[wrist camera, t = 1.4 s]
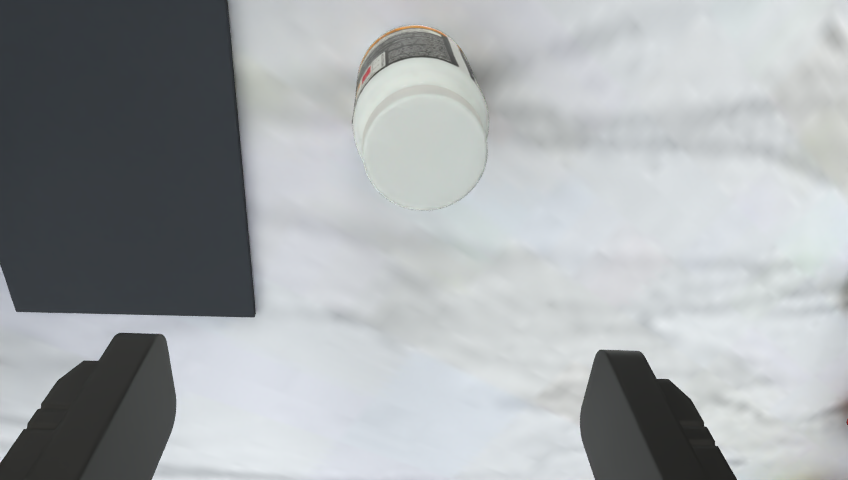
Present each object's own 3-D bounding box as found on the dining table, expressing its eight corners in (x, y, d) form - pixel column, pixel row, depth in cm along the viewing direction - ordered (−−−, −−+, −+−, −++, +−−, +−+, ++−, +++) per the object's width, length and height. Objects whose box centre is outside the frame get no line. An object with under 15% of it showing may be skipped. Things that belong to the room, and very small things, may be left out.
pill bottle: (338, 101, 32) (319, 183, 23) (392, -2, 29) (393, 48, 21) (434, 152, 33) (449, 246, 25) (492, 58, 31) (531, 128, 22)
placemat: (-101, -60, 27) (-108, -59, 27) (223, -39, 28) (221, -38, 28) (19, 308, 37) (15, 312, 37) (255, 313, 38) (254, 317, 38)
